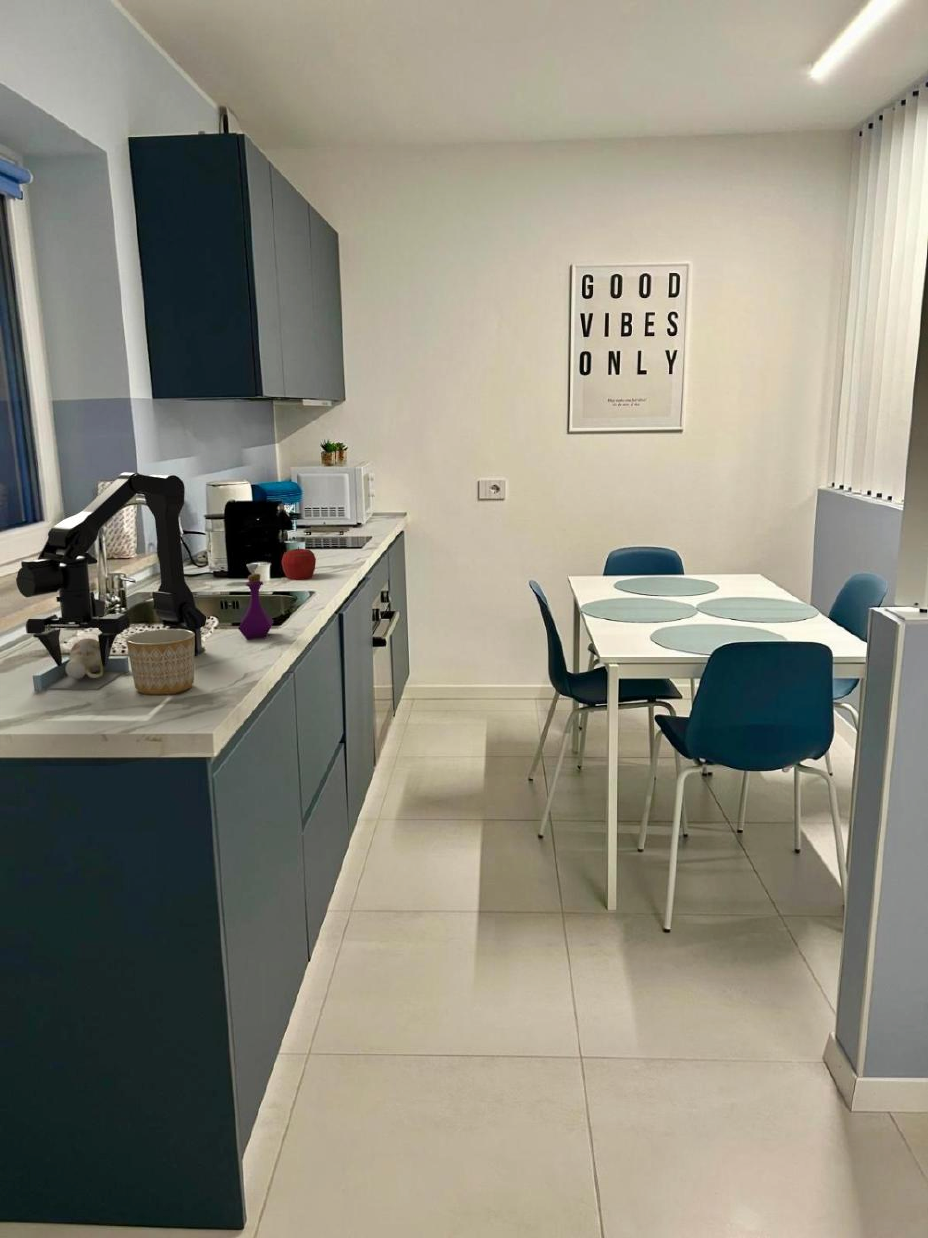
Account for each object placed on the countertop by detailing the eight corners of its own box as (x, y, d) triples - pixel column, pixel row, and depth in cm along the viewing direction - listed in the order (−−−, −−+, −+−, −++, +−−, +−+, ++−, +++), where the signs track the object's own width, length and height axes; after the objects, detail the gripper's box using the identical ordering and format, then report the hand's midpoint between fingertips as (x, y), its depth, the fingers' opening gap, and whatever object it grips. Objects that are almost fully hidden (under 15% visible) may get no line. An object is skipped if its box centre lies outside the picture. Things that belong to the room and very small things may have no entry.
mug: (55, 683, 184) (52, 636, 187) (85, 694, 193) (81, 649, 196) (89, 672, 183) (85, 626, 186) (117, 684, 192) (113, 639, 195)
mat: (123, 672, 194) (123, 671, 194) (98, 689, 182) (98, 688, 182) (74, 672, 195) (73, 671, 194) (45, 689, 183) (45, 688, 183)
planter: (125, 685, 185) (120, 633, 183) (190, 675, 191) (186, 626, 189) (137, 701, 174) (132, 647, 172) (205, 691, 180) (201, 638, 178)
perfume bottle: (243, 634, 227) (238, 561, 223) (274, 633, 227) (270, 560, 223) (238, 641, 219) (233, 566, 216) (271, 640, 220) (266, 565, 216)
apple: (284, 580, 301) (282, 544, 298) (317, 579, 302) (315, 543, 299) (281, 586, 290) (279, 549, 287) (316, 585, 291) (314, 548, 289)
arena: (129, 670, 196) (127, 656, 195) (99, 690, 182) (98, 675, 181) (68, 670, 196) (66, 656, 196) (34, 690, 182) (32, 675, 182)
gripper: (137, 581, 191) (143, 655, 194) (47, 581, 192) (55, 655, 195) (114, 591, 180) (121, 669, 183) (20, 592, 181) (29, 669, 184)
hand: (82, 665), depth 187 cm, fingers open, 9 cm apart
